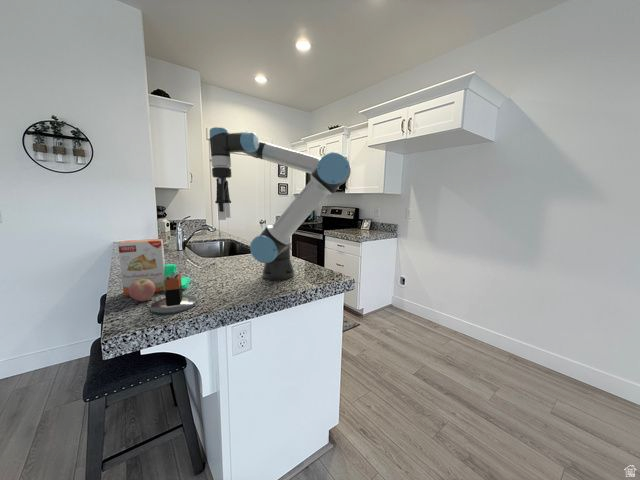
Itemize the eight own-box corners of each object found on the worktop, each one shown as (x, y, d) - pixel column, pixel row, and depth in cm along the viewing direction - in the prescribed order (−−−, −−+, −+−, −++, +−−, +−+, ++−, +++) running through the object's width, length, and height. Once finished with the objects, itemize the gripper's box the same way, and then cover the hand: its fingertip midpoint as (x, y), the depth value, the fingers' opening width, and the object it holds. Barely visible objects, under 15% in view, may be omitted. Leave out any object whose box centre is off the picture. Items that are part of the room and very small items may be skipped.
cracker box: (123, 297, 100) (116, 242, 97) (127, 292, 105) (121, 240, 102) (165, 291, 106) (161, 240, 103) (167, 287, 111) (162, 238, 108)
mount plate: (201, 297, 100) (201, 294, 99) (189, 312, 86) (189, 309, 86) (161, 299, 97) (161, 296, 97) (142, 315, 84) (142, 312, 83)
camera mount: (185, 291, 107) (183, 266, 105) (164, 293, 104) (161, 268, 103) (190, 282, 118) (189, 260, 116) (171, 284, 116) (169, 261, 114)
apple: (126, 305, 92) (123, 283, 91) (135, 297, 99) (133, 277, 98) (151, 303, 94) (149, 282, 92) (159, 296, 101) (157, 275, 100)
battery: (166, 306, 88) (163, 277, 86) (169, 299, 94) (166, 272, 92) (180, 304, 89) (178, 276, 88) (183, 297, 95) (180, 271, 94)
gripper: (217, 170, 121) (220, 217, 124) (205, 163, 97) (209, 221, 100) (234, 171, 123) (237, 216, 126) (226, 163, 98) (230, 220, 102)
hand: (225, 218), depth 113 cm, fingers open, 13 cm apart
